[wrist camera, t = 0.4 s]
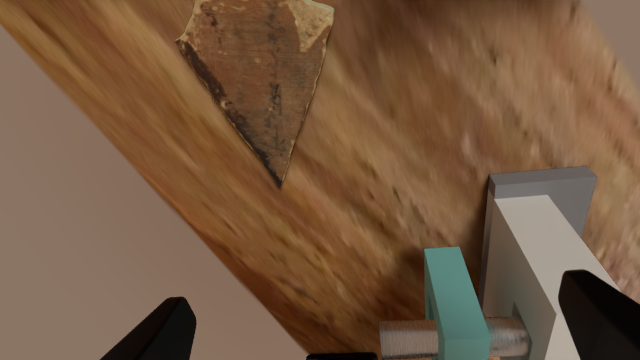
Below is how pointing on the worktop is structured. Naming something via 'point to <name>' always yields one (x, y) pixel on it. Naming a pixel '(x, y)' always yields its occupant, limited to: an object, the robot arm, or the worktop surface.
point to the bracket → (536, 252)
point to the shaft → (423, 339)
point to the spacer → (454, 306)
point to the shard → (260, 67)
